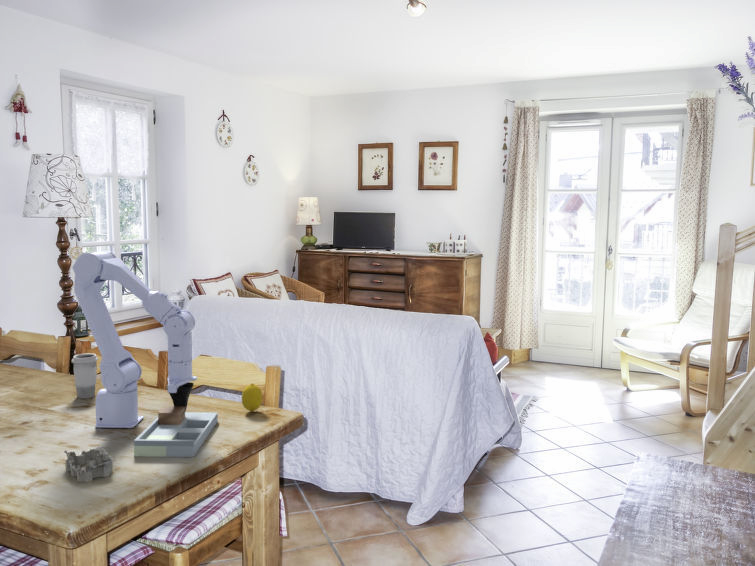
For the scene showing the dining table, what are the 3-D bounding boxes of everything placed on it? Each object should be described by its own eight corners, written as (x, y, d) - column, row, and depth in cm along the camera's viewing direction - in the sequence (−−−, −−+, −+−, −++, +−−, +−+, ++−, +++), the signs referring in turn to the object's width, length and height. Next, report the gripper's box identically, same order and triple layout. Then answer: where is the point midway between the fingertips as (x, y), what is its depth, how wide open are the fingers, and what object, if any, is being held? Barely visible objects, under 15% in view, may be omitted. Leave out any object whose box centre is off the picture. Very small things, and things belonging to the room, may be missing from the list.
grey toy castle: (62, 468, 126) (62, 449, 126) (100, 459, 131) (99, 441, 131) (77, 486, 118) (76, 466, 118) (116, 475, 123) (116, 456, 123)
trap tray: (134, 456, 133) (133, 440, 132) (167, 420, 155) (166, 407, 155) (193, 456, 133) (193, 441, 133) (217, 421, 156) (217, 408, 155)
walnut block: (158, 424, 146) (158, 412, 145) (165, 417, 151) (164, 406, 150) (179, 425, 146) (178, 413, 146) (185, 418, 151) (185, 406, 150)
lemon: (257, 416, 161) (257, 387, 160) (238, 414, 162) (238, 385, 161) (265, 409, 166) (265, 381, 165) (246, 408, 167) (246, 380, 166)
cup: (91, 391, 179) (90, 351, 178) (104, 395, 175) (103, 355, 174) (67, 396, 173) (66, 356, 172) (80, 401, 169) (78, 359, 168)
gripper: (188, 367, 143) (188, 422, 145) (203, 353, 158) (203, 403, 159) (158, 367, 143) (159, 422, 145) (176, 353, 157) (176, 403, 159)
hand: (180, 412), depth 152 cm, fingers closed
